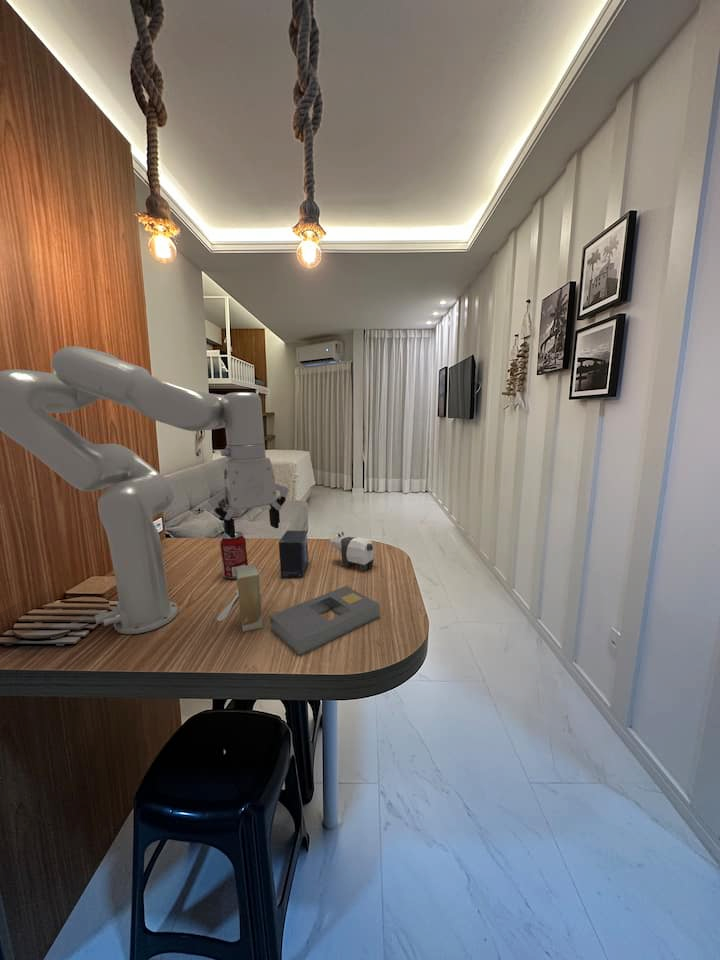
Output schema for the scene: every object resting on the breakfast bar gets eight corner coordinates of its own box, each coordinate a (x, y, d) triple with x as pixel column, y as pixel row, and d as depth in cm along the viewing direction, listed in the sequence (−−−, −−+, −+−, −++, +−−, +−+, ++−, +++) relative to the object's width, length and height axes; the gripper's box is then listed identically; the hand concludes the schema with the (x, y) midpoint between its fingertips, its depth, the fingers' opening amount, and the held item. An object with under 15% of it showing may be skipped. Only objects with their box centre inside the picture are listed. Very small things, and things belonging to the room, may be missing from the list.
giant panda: (377, 566, 109) (376, 535, 107) (367, 573, 104) (366, 540, 103) (337, 557, 117) (335, 528, 115) (326, 563, 113) (324, 533, 111)
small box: (303, 578, 103) (301, 541, 102) (280, 578, 104) (277, 542, 102) (309, 562, 114) (307, 529, 112) (288, 563, 114) (285, 530, 112)
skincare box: (240, 618, 84) (235, 566, 82) (260, 613, 86) (255, 562, 83) (242, 633, 78) (236, 577, 76) (263, 628, 80) (258, 574, 78)
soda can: (249, 577, 105) (245, 536, 103) (224, 582, 103) (219, 540, 101) (247, 568, 111) (243, 529, 109) (223, 573, 109) (218, 533, 107)
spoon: (258, 586, 100) (257, 580, 100) (220, 631, 80) (219, 624, 80) (243, 586, 101) (243, 580, 100) (202, 630, 81) (201, 623, 80)
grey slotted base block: (299, 655, 70) (298, 640, 70) (270, 629, 79) (269, 615, 79) (379, 616, 82) (379, 603, 82) (346, 597, 92) (346, 585, 91)
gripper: (208, 458, 71) (218, 545, 74) (292, 450, 81) (297, 527, 84) (198, 455, 77) (207, 536, 80) (277, 448, 87) (283, 520, 90)
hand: (253, 531), depth 82 cm, fingers open, 9 cm apart
